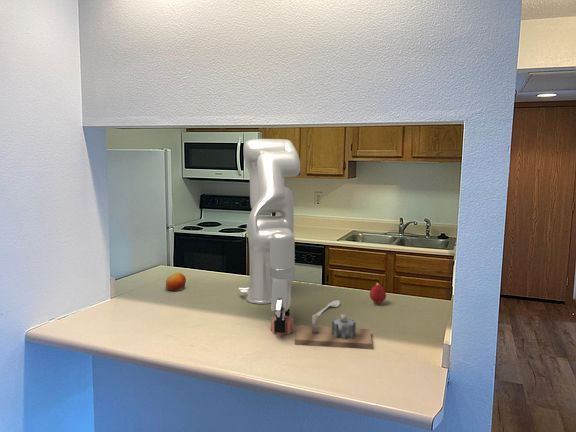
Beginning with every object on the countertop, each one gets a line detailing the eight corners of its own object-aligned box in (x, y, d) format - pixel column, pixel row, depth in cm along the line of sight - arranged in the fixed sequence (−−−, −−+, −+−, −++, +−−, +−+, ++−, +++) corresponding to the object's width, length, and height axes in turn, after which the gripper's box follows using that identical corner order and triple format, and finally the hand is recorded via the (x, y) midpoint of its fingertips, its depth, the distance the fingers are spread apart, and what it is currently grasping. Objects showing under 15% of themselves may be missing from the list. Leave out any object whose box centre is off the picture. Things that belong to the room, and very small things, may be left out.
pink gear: (269, 334, 138) (269, 322, 137) (273, 326, 144) (273, 314, 144) (291, 335, 137) (291, 323, 136) (294, 327, 143) (294, 315, 143)
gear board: (294, 344, 131) (294, 319, 130) (298, 329, 141) (298, 306, 140) (371, 348, 128) (372, 323, 127) (370, 333, 138) (370, 310, 137)
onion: (384, 301, 168) (385, 281, 167) (386, 307, 163) (387, 285, 162) (368, 301, 169) (369, 280, 168) (370, 306, 163) (370, 285, 162)
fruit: (188, 289, 179) (177, 272, 178) (171, 299, 180) (160, 282, 179) (192, 283, 187) (182, 267, 186) (176, 292, 188) (166, 276, 187)
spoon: (343, 305, 166) (343, 300, 166) (314, 322, 149) (314, 317, 149) (333, 303, 168) (333, 299, 168) (303, 319, 151) (303, 315, 151)
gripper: (274, 265, 147) (274, 316, 149) (264, 279, 130) (265, 336, 132) (297, 266, 146) (297, 317, 148) (290, 280, 129) (290, 338, 131)
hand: (282, 326), depth 140 cm, fingers open, 9 cm apart
